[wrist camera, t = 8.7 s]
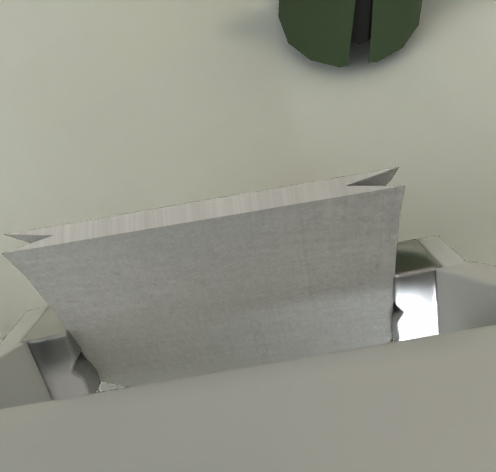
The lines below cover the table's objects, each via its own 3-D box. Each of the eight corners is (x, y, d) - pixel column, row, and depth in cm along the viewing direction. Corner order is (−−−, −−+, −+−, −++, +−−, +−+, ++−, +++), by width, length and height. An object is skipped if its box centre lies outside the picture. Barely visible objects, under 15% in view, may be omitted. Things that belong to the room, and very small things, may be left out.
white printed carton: (364, 369, 16) (435, 290, 7) (171, 396, 16) (-8, 357, 7) (342, 267, 17) (376, 88, 8) (166, 295, 18) (10, 155, 9)
